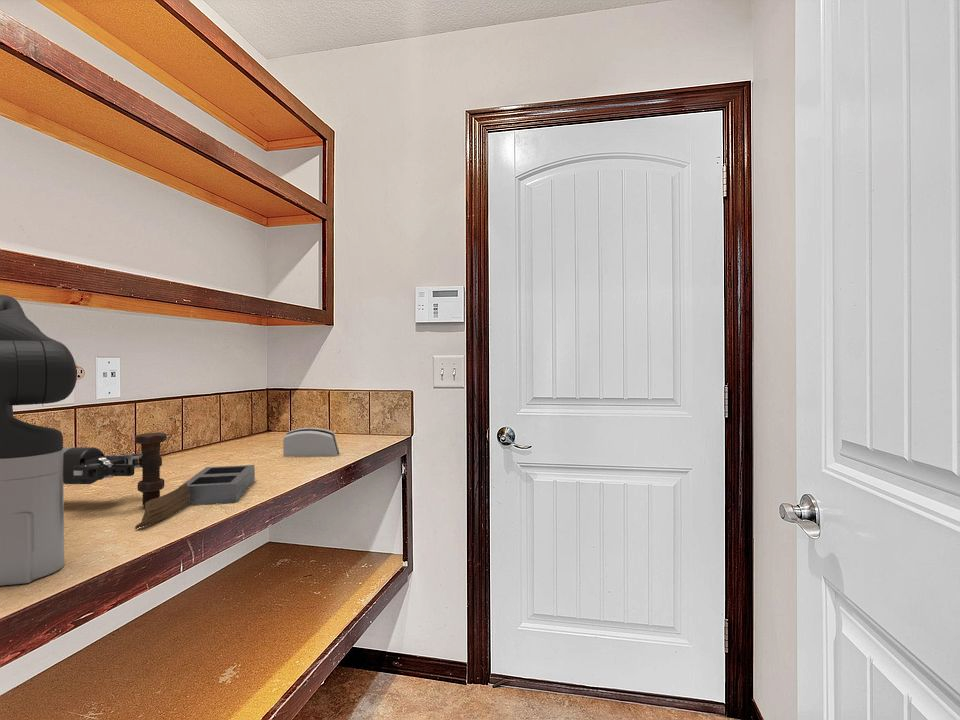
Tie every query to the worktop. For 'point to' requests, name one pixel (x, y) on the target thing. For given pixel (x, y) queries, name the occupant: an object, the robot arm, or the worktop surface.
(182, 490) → the wood plank
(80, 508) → the worktop surface
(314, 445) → the grey napkin holder
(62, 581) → the worktop surface
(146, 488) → the bolt
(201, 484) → the two-slot grey tray
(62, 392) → the robot arm
